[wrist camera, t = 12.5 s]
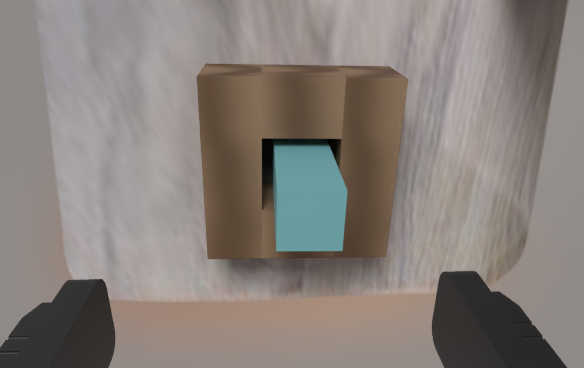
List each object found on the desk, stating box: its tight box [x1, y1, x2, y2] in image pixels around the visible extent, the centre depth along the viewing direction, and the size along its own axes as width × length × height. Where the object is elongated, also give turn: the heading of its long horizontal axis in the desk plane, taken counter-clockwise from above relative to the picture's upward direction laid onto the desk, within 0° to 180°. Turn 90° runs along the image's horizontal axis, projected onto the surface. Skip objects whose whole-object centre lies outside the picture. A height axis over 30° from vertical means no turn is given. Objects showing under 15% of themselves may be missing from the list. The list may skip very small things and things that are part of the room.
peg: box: [272, 139, 348, 251], centre depth 32 cm, size 4×4×12 cm
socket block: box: [197, 64, 408, 259], centre depth 35 cm, size 14×14×5 cm
